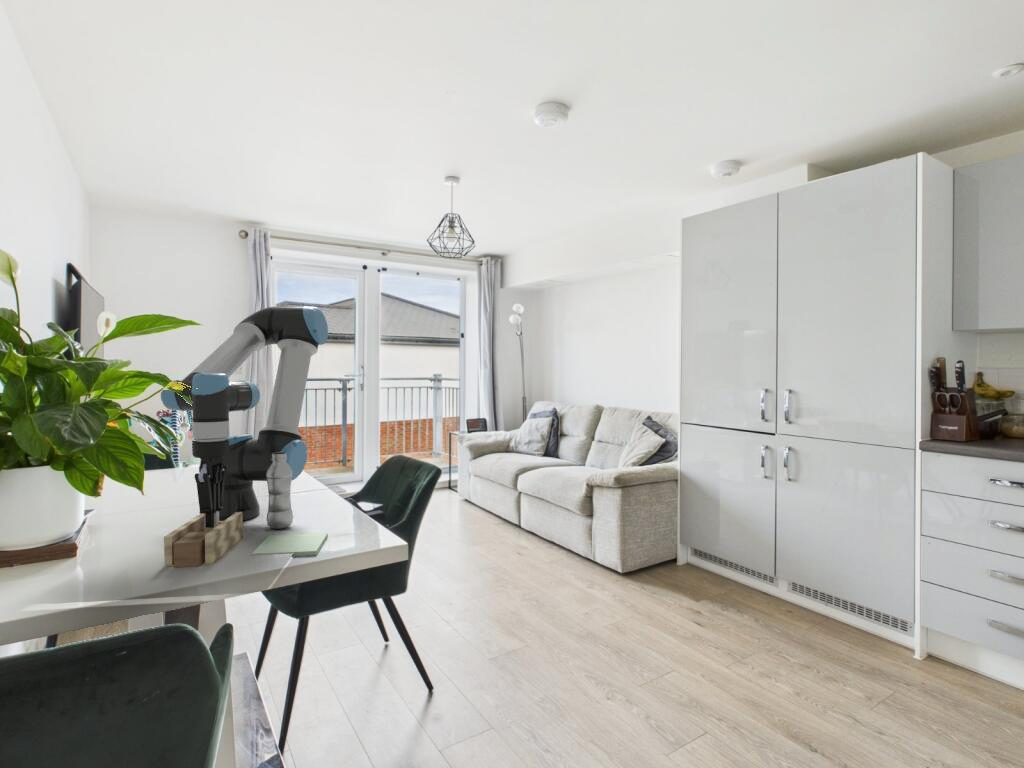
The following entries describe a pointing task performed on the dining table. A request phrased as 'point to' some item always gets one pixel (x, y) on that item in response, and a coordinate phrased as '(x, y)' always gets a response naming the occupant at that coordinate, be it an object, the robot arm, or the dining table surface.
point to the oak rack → (207, 537)
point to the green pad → (292, 544)
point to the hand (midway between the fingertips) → (211, 539)
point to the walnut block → (190, 550)
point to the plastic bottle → (279, 492)
